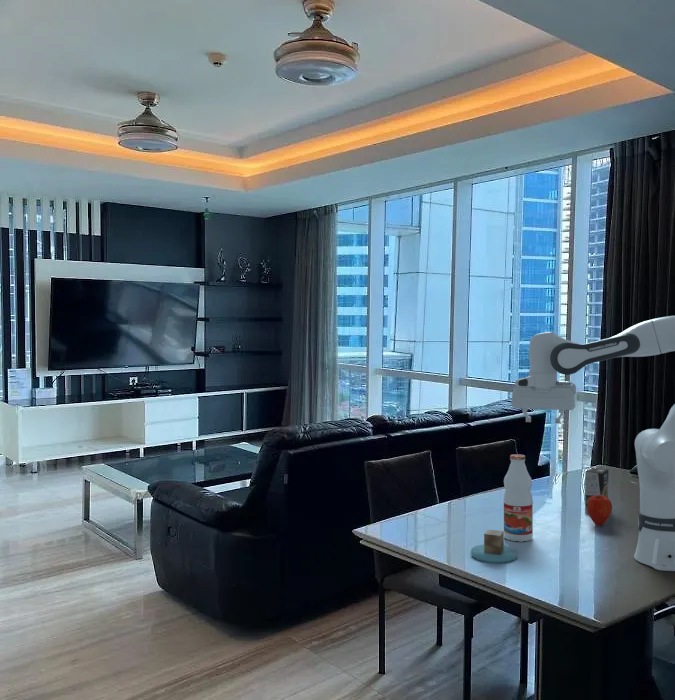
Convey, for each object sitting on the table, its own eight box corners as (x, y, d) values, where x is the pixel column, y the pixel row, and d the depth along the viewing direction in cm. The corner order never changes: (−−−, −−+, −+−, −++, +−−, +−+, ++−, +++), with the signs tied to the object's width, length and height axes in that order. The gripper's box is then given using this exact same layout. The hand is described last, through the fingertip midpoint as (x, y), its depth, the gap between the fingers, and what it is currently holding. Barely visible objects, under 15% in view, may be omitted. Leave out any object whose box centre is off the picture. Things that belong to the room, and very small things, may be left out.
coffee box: (602, 516, 253) (602, 473, 252) (584, 513, 257) (584, 471, 256) (609, 510, 260) (609, 468, 260) (592, 508, 264) (591, 467, 264)
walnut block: (503, 550, 214) (503, 531, 214) (500, 555, 210) (500, 535, 210) (487, 548, 216) (487, 529, 216) (484, 553, 212) (484, 533, 212)
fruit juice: (534, 535, 232) (534, 453, 231) (530, 543, 223) (529, 459, 222) (506, 532, 236) (506, 452, 235) (501, 540, 227) (500, 457, 226)
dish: (520, 551, 217) (520, 547, 217) (512, 565, 204) (512, 561, 204) (476, 545, 222) (476, 542, 222) (466, 559, 210) (466, 555, 210)
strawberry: (614, 529, 237) (614, 498, 237) (588, 528, 239) (588, 497, 239) (609, 522, 246) (609, 492, 245) (585, 521, 247) (585, 491, 247)
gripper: (576, 380, 225) (577, 422, 225) (513, 379, 233) (513, 419, 234) (575, 382, 219) (575, 425, 219) (510, 381, 227) (510, 422, 228)
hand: (543, 422), depth 227 cm, fingers open, 8 cm apart
